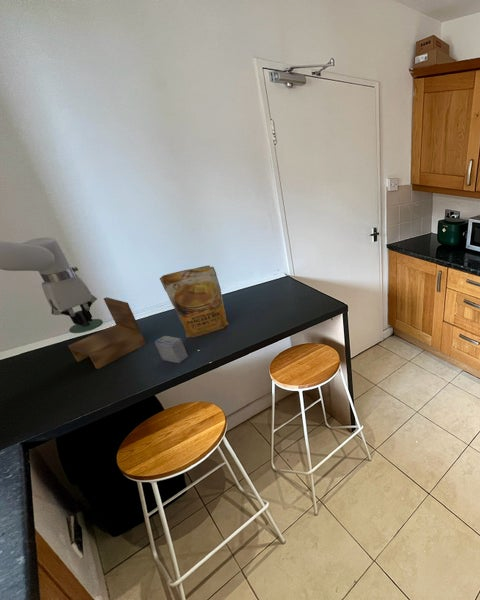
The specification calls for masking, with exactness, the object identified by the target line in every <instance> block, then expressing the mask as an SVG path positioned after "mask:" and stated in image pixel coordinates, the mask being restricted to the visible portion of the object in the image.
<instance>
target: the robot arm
mask: <svg viewBox="0 0 480 600" xmlns="http://www.w3.org/2000/svg"><path fill="white" fill-rule="evenodd" d="M0 270H3V271H7V272H8V271H10V272H12V271H13V272H38V274H39V275H40V277H41V278H42V281H43V282H41V287H42V291H43V293H44V296H45V298H46V300H47V303H48V305H49V306H50V308H51V312H50V313H51V315H53V316H61V315H63V316H68V317H69V318H70V320H71V321H72V323H73V325H75V324H77V325H80V326H81V325H83V323H82V321H81V319H80V318H79V316H78V315H76V314H75V311H74V309H73V308H75V307H78V306H79V307H80V309H81V310H80V311H83V312H84V314H85V316H86V317H87V319H88V321H93V320H92V319H93V315H92V313H91V307H92V305H93V304H94V303H95V302H96V301H97V300H98V298H97V297H96V296H95V295H93V294H92V292H91V290H90V289H89V287H88V286H87V285H86V282H84V280H83V279H82V278H81V277H80V276H79V274H77V273H76V272H78V271H79V268H78V267H77V266H74V267H73V266H71V263H70V262H69V260H68V258H67V256H66V254H65V252H64V251H63V249H62V247H61V245H60V243H59V241H58V240H57V239H56V238H54V237H37V238H33V239H29V240H27V241H24V242H20V243H19V242H9V241H1V240H0Z"/></svg>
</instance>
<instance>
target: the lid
mask: <svg viewBox="0 0 480 600" xmlns="http://www.w3.org/2000/svg"><path fill="white" fill-rule="evenodd" d="M74 313H75V314H76V315H78V316H79V318H80V319H81V321H82V323H83V325H81V326H80V325H77V324H73V325H72V326H71V327H69V330H68V331H69V332H70V333H71V334H83V333H87V332H90V331H93V330H96V329H97V328H99V327H101V326H102V325H103V323H104V321H103V320H102V319H101V318H92V320H93V321H88V319H87V317H86V316H85V314H84V312H83V311H81V310H77V311H74Z"/></svg>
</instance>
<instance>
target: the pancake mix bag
mask: <svg viewBox="0 0 480 600" xmlns="http://www.w3.org/2000/svg"><path fill="white" fill-rule="evenodd" d="M217 275H218V274H217V271H216V270H215V266H211V265H204V266H198V267H195V268H190V269H189V268H188V269H184V270H180V271H175V272H171V273H166V274H163V275H162V276H160V278H159V280H160V283H161V284H162V288H163V289H164V291H165V292H166V294H167V296H168V299H169V302H171V305H172V307H173V308H174V310H175V311H176V313H177V316H178V319H179V320H180V322H181V324H182V326H183V328H184V331H185V338H193V339H194V338H198V337H202V336H205V335H207V334H212V333H214V332H217V331H221V330H223V329H225V328H226V327H227V326H229V322H228V320H227V316H226V310H225V306H224V299H223V294H222V289H221V285H220V281H219V279H218V276H217Z"/></svg>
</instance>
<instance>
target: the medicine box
mask: <svg viewBox="0 0 480 600" xmlns="http://www.w3.org/2000/svg"><path fill="white" fill-rule="evenodd" d="M154 344H155V347H156V349H157V351H158V353H159V356H160V358H161V360H162V361H165V362H170V363H175V364H180V363H182V362H183V361H185V360H186V359H187V358H189V355H188V353H187V350H186V347H185V345H184V343H183V341H182V338H180V337H175V336H170V335H169V336H168V335H163V336H161V337H160V338H158V339H157V340H155V341H154Z"/></svg>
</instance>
